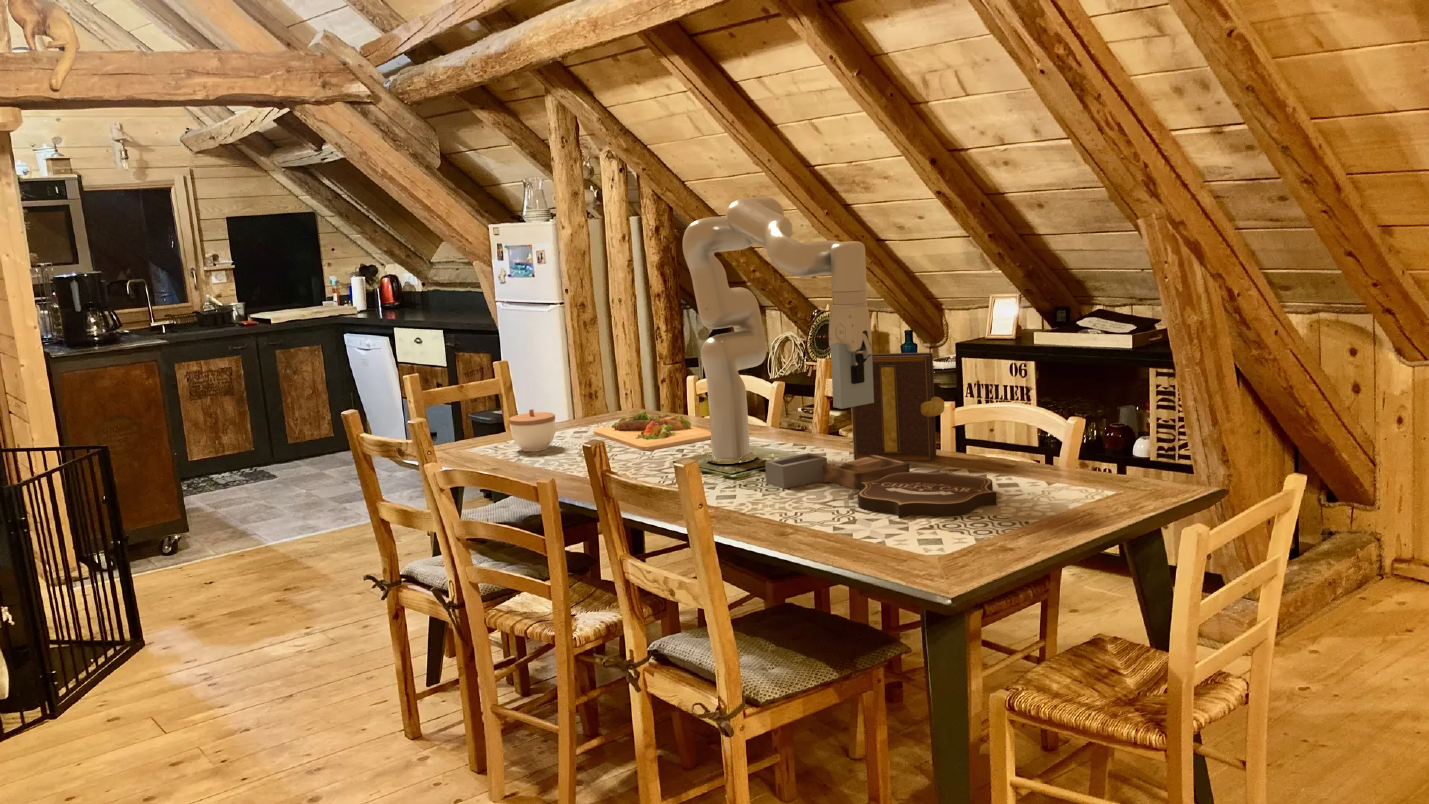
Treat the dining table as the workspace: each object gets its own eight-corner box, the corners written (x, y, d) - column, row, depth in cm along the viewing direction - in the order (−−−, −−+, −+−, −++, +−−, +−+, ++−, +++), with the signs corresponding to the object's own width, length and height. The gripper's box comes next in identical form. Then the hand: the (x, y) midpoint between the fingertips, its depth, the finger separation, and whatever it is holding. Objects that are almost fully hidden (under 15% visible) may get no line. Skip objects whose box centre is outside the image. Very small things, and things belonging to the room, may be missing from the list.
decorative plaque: (828, 500, 235) (885, 466, 261) (829, 514, 236) (885, 479, 261) (972, 511, 220) (1017, 474, 245) (973, 526, 220) (1018, 488, 246)
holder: (766, 483, 264) (765, 461, 263) (809, 474, 270) (808, 453, 269) (784, 488, 258) (782, 466, 257) (828, 479, 263) (826, 457, 263)
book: (851, 461, 280) (846, 358, 275) (858, 453, 288) (853, 353, 283) (943, 462, 272) (939, 356, 268) (948, 454, 280) (944, 351, 276)
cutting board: (720, 439, 319) (718, 413, 318) (644, 453, 308) (642, 425, 307) (662, 423, 349) (660, 399, 348) (590, 435, 338) (588, 410, 337)
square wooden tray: (823, 480, 263) (822, 465, 262) (874, 469, 270) (873, 454, 269) (858, 490, 252) (857, 474, 251) (909, 478, 259) (909, 463, 258)
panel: (833, 407, 256) (830, 344, 253) (865, 401, 260) (863, 339, 258) (841, 408, 253) (838, 345, 251) (874, 402, 258) (871, 340, 255)
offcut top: (843, 472, 262) (843, 462, 262) (867, 466, 266) (866, 457, 266) (857, 475, 258) (857, 465, 258) (881, 469, 262) (880, 459, 262)
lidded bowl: (567, 445, 323) (563, 406, 321) (536, 455, 313) (532, 414, 311) (533, 442, 330) (529, 404, 328) (502, 452, 320) (498, 412, 318)
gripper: (813, 298, 258) (817, 380, 261) (859, 302, 244) (862, 388, 247) (840, 295, 261) (843, 376, 265) (887, 299, 248) (889, 383, 251)
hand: (852, 381), depth 256 cm, fingers closed on panel, 3 cm apart
